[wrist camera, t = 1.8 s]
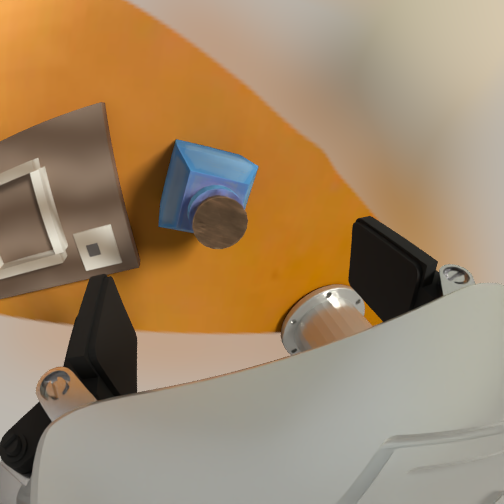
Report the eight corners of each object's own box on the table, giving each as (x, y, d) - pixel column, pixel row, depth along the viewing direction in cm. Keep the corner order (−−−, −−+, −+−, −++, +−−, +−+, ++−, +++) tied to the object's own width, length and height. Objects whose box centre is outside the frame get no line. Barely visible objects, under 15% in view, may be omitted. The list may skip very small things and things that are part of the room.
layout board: (140, 260, 29) (138, 275, 26) (3, 292, 25) (-6, 306, 23) (104, 102, 21) (97, 101, 19) (-41, 165, 18) (-56, 172, 15)
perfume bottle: (240, 155, 27) (287, 184, 17) (221, 215, 29) (254, 278, 19) (176, 139, 25) (179, 157, 14) (160, 202, 27) (156, 263, 17)
